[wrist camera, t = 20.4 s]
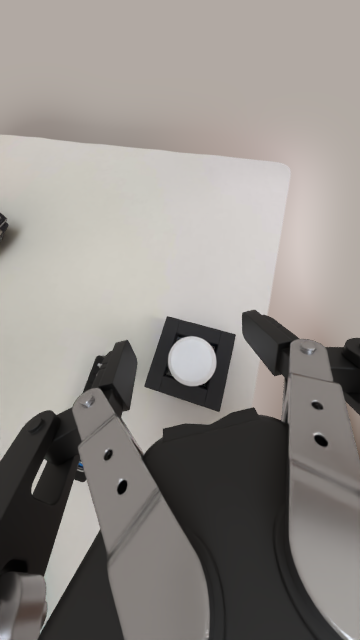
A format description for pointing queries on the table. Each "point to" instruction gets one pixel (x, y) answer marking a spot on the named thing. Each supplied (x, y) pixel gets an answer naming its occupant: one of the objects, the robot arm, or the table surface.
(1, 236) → the camera
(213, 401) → the holder pad
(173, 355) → the pill bottle
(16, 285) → the table surface
